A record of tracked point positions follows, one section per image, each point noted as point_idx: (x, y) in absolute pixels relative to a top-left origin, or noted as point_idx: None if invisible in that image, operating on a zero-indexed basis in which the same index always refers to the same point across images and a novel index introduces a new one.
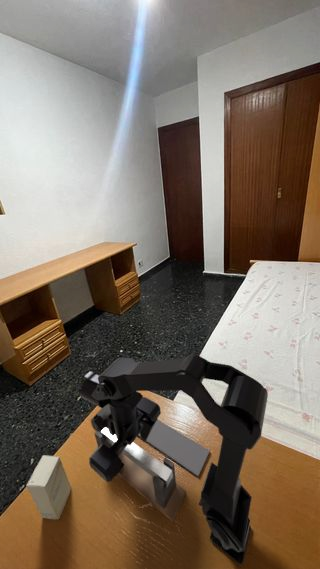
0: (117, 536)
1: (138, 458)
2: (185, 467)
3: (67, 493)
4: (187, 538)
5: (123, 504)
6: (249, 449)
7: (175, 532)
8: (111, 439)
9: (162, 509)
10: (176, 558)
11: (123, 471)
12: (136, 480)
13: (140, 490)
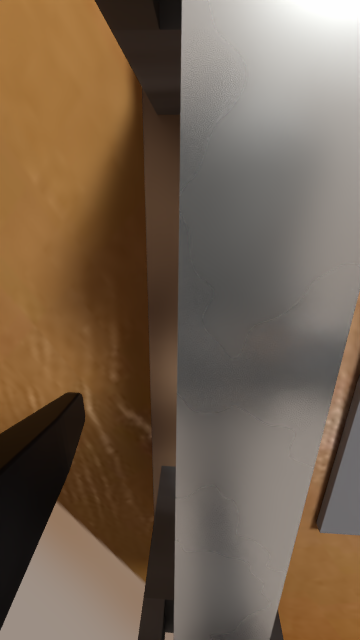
0: (7, 387)
1: (185, 603)
2: (330, 490)
3: None
4: (150, 539)
5: (83, 350)
6: None
7: (141, 514)
8: (181, 208)
9: (156, 490)
10: (100, 531)
11: (63, 476)
12: (175, 366)
13: (154, 403)
